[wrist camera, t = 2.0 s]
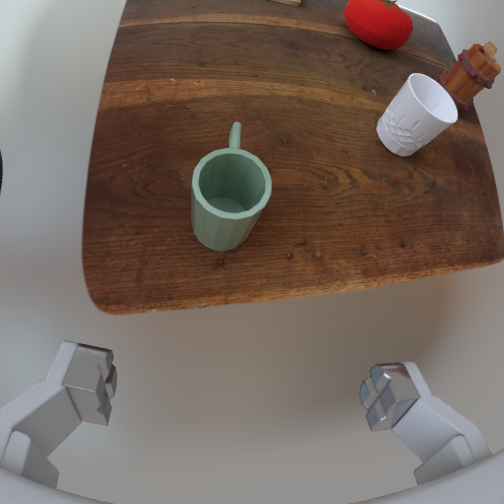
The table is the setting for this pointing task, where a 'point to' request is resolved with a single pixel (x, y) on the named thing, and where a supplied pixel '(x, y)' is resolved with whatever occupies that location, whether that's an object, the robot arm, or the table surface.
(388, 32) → the tomato
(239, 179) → the enamel mug
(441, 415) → the robot arm
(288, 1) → the mug stand
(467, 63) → the mug
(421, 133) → the white cup
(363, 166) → the table surface
